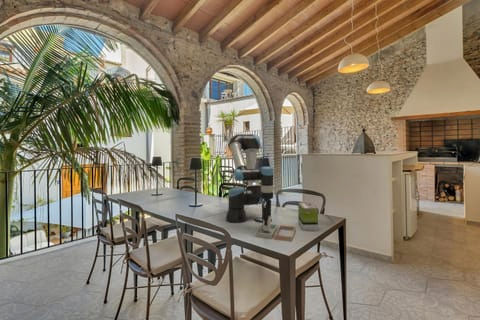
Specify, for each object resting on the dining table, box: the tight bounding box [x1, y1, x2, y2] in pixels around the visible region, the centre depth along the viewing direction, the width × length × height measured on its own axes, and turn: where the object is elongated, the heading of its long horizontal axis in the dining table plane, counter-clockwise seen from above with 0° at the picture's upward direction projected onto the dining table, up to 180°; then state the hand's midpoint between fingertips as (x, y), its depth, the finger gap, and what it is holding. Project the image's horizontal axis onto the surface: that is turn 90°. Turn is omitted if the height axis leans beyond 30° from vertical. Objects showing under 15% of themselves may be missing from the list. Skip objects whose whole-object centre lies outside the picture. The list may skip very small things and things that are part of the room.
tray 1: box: [254, 223, 279, 240], centre depth 153 cm, size 10×18×2 cm, turn 160°
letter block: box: [262, 215, 272, 232], centre depth 152 cm, size 4×4×8 cm
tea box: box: [297, 201, 319, 231], centre depth 163 cm, size 15×10×15 cm
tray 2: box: [273, 224, 297, 242], centre depth 149 cm, size 10×18×2 cm, turn 160°
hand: (267, 228), depth 152 cm, fingers closed on letter block, 4 cm apart
